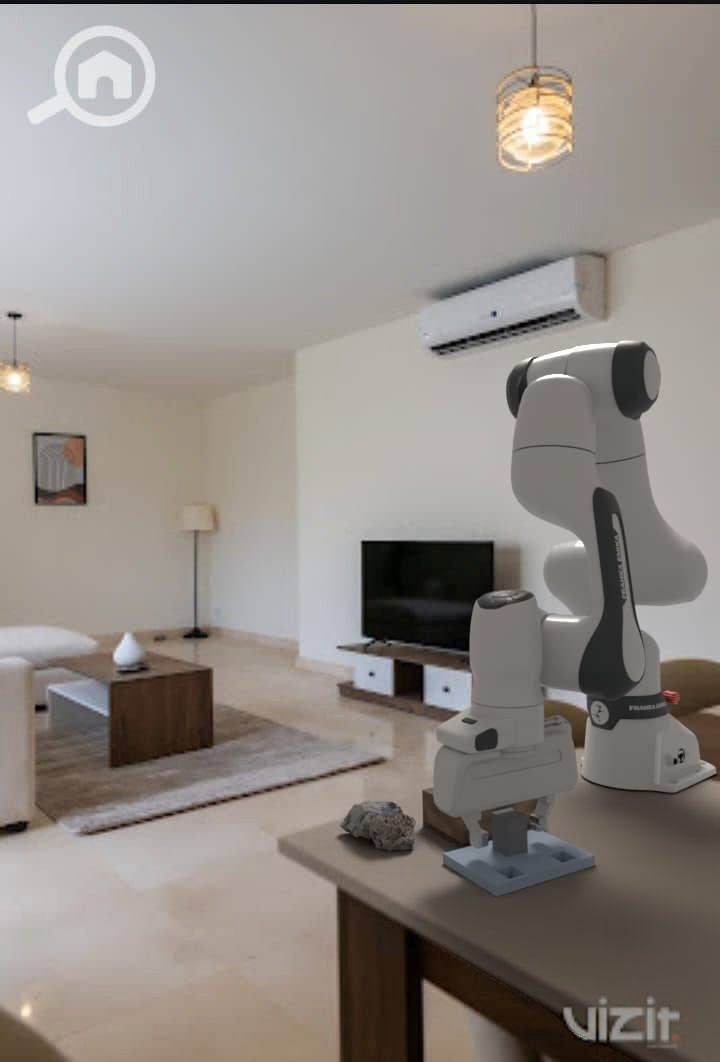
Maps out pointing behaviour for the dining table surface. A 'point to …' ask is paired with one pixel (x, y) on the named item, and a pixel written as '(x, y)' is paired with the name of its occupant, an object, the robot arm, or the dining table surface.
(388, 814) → the mineral specimen
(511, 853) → the grey peg base plate
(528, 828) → the wooden box with pegs
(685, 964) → the dining table surface
